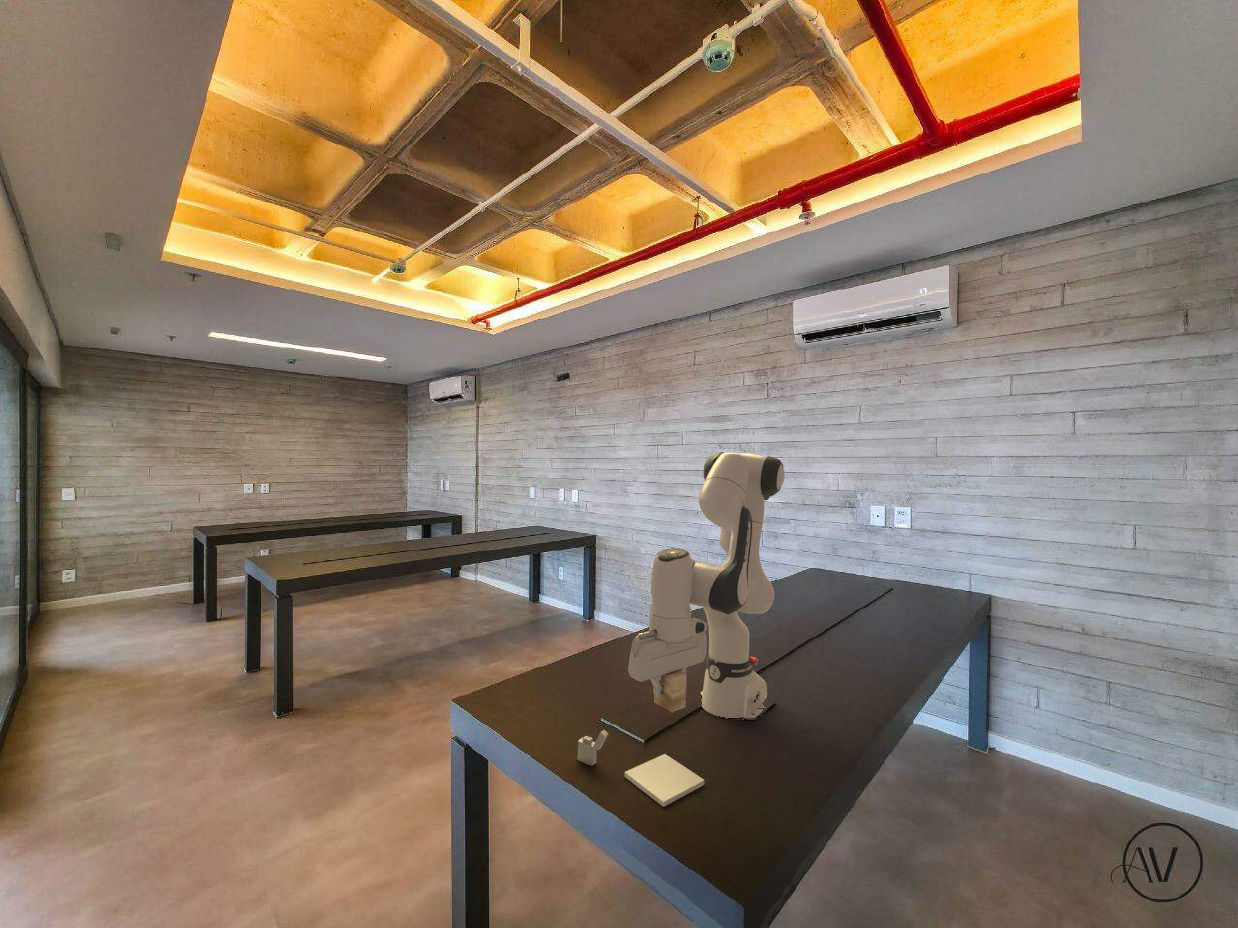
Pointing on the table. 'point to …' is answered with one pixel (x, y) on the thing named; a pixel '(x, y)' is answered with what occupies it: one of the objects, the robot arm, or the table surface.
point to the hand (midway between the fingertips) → (667, 691)
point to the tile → (664, 779)
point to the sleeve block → (671, 691)
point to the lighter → (590, 748)
